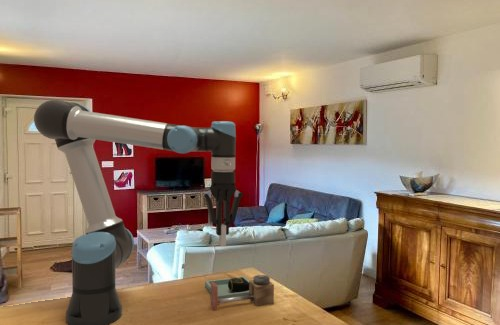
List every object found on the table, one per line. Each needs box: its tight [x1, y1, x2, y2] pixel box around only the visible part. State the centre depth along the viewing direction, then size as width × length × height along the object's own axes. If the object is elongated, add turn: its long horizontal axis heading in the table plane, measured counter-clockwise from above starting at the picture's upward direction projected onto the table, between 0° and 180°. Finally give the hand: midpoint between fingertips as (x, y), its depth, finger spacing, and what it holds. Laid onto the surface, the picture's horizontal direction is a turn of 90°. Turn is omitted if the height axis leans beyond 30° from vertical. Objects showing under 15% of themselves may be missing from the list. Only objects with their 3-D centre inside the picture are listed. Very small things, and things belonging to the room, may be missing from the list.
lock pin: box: [209, 282, 254, 310], centre depth 130 cm, size 14×4×7 cm, turn 112°
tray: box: [204, 276, 251, 299], centre depth 142 cm, size 15×15×2 cm
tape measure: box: [228, 276, 249, 293], centre depth 141 cm, size 7×7×4 cm
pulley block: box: [248, 274, 275, 307], centre depth 133 cm, size 6×6×8 cm
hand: (222, 245), depth 132 cm, fingers closed
